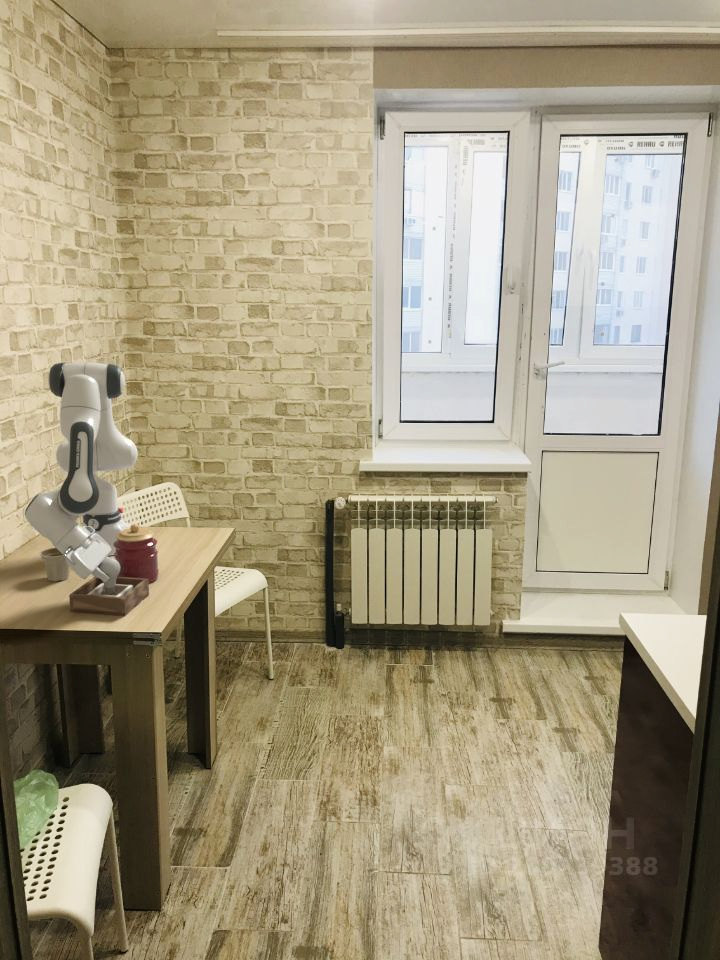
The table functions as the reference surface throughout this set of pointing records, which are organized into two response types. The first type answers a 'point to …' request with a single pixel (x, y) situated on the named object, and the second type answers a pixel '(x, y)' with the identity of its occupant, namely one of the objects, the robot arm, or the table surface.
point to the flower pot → (55, 564)
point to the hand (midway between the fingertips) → (111, 575)
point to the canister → (137, 553)
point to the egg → (110, 573)
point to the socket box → (109, 596)
